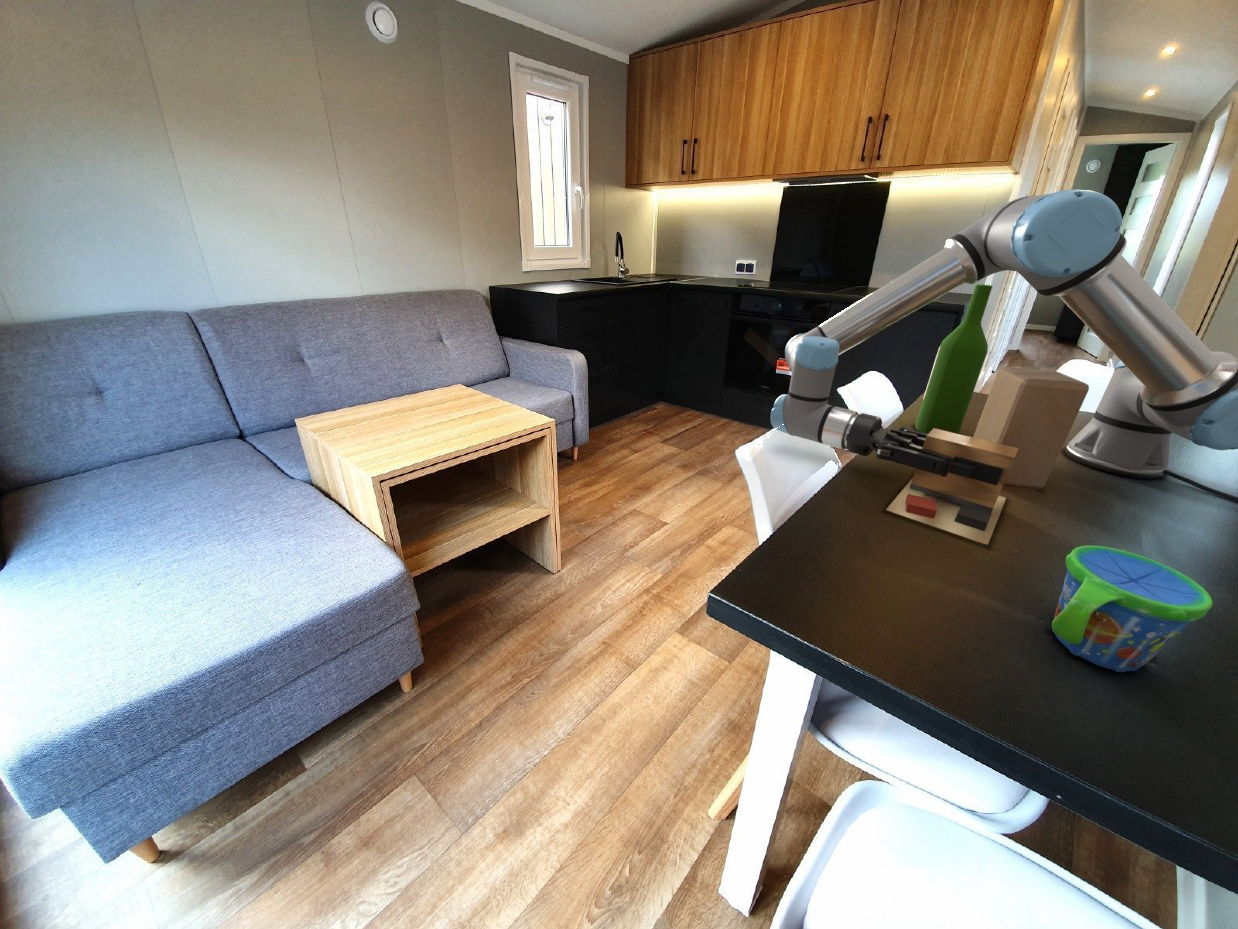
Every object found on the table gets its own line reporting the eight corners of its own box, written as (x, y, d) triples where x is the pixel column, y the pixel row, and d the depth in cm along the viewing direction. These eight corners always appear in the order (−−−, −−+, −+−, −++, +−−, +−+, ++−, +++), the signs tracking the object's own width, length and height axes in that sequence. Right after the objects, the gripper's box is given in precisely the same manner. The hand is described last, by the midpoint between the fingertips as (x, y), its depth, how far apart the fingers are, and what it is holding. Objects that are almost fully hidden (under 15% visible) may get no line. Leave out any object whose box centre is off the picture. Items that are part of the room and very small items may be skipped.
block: (1044, 492, 88) (1094, 384, 80) (984, 485, 90) (1026, 379, 82) (1016, 468, 97) (1058, 369, 89) (961, 463, 99) (997, 365, 90)
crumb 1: (932, 507, 81) (935, 499, 80) (933, 518, 78) (936, 510, 77) (905, 501, 82) (907, 493, 82) (905, 512, 79) (908, 504, 79)
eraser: (995, 503, 82) (1018, 448, 77) (990, 513, 78) (1014, 457, 74) (916, 479, 89) (933, 428, 85) (909, 488, 86) (926, 435, 81)
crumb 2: (988, 521, 77) (991, 513, 77) (984, 531, 75) (987, 523, 74) (959, 512, 80) (962, 504, 79) (954, 521, 77) (957, 513, 76)
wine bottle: (921, 421, 121) (965, 282, 107) (963, 432, 115) (1015, 286, 101) (908, 429, 116) (953, 283, 102) (951, 441, 110) (1004, 288, 96)
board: (1005, 500, 85) (1006, 497, 85) (986, 547, 71) (987, 544, 71) (916, 474, 93) (917, 472, 93) (884, 512, 80) (885, 509, 80)
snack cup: (1095, 606, 60) (1135, 537, 56) (1203, 674, 51) (1261, 598, 47) (993, 623, 57) (1027, 551, 53) (1089, 700, 48) (1141, 620, 43)
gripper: (864, 437, 99) (1002, 475, 85) (830, 463, 87) (984, 512, 73) (873, 402, 96) (1018, 435, 82) (839, 424, 84) (1003, 467, 70)
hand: (1002, 471), depth 78 cm, fingers closed on eraser, 5 cm apart
